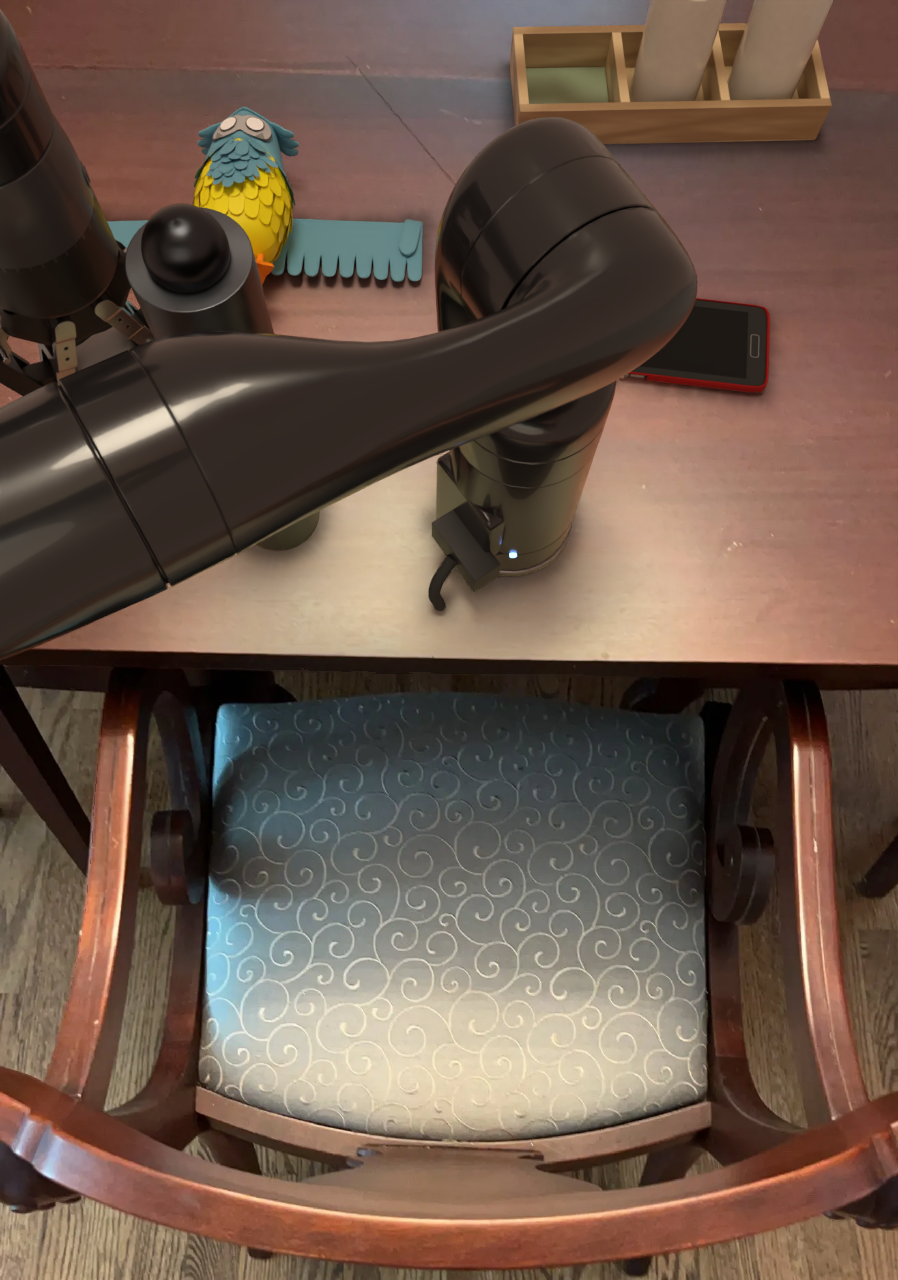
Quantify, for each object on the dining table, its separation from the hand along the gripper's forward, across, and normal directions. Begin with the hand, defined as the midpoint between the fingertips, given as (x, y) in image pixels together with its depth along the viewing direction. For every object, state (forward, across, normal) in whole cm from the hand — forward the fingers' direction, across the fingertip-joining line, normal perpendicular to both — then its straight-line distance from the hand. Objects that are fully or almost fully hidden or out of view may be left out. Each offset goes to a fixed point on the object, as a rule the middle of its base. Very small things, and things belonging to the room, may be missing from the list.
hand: (121, 388), depth 65 cm
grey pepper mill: (+8, -5, +10) cm, 14 cm away
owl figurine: (+8, -16, -12) cm, 22 cm away
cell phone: (+8, -39, +15) cm, 43 cm away
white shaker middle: (+8, -53, -5) cm, 54 cm away
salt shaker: (+8, 0, 0) cm, 8 cm away
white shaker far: (+8, -60, 0) cm, 61 cm away
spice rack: (+8, -53, -5) cm, 54 cm away
